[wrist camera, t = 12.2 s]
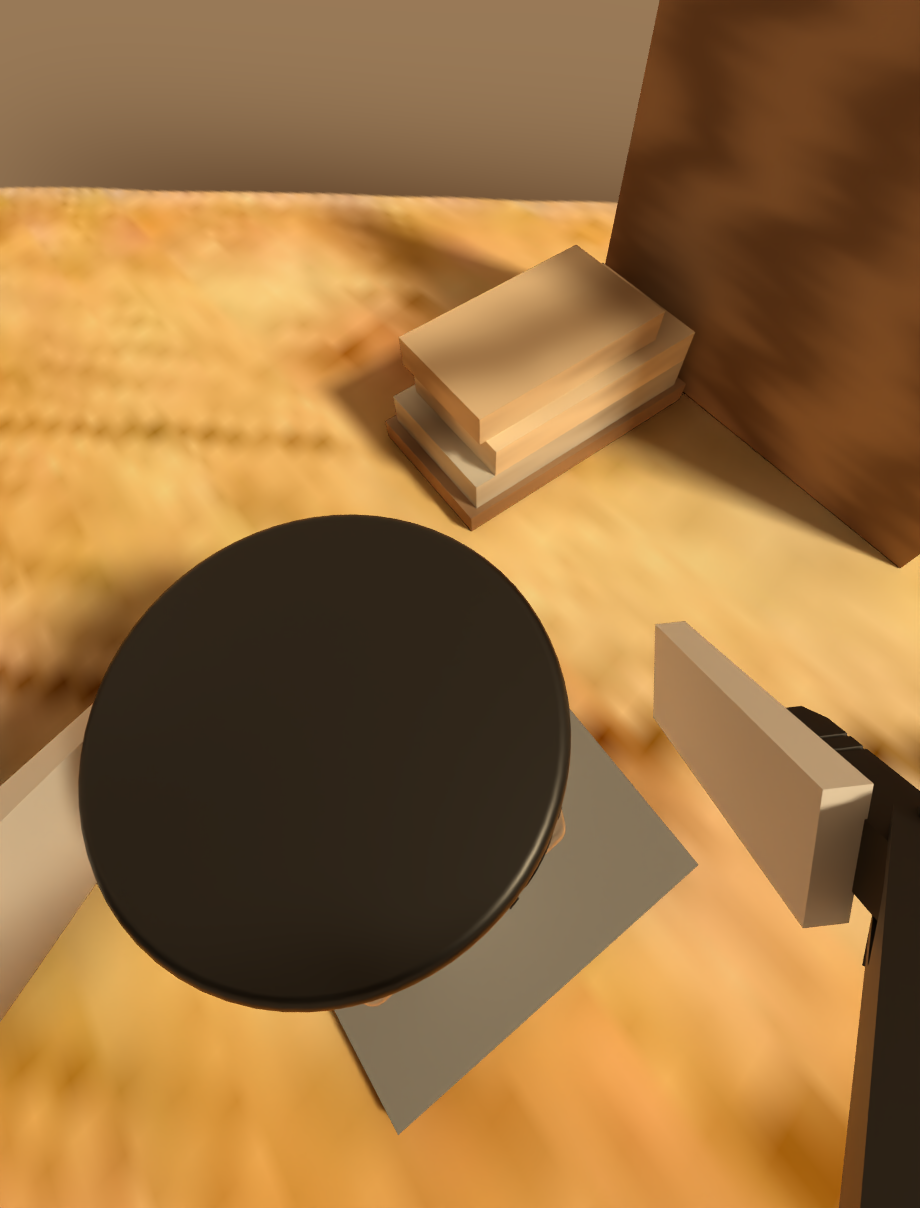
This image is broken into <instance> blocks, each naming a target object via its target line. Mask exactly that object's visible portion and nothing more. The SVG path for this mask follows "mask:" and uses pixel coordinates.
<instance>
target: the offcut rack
mask: <svg viewBox="0 0 920 1208" xmlns="http://www.w3.org/2000/svg"><path fill="white" fill-rule="evenodd" d="M399 342H400V348H401V355H402V362H403V365H404V366H405V367H406V368H407V369H408V370H409V371H410V372H411V373H412V375H413V376H414V381H415V385H413V386H411V387H409V388H408V389H406V390H404V391H402V392H400V393H399V394H397V395H395V396H393V399H394V404H395V410H396V415H395V416H394V417H392V418H390V419H388V420H386V421H385V422H386V427H387V432H388V436H389V437H390V438H391V439H392V440H393V441H394V443H395V444H396V445H397V446H398V447H399V448H400V449H401V451H402V452H403V453H404V454H405V455H406V456H407V457H408V459H409V460H410V461H411V462H412V463H413V464H414V466H415V467H416V468H417V469H418V470H419V471H420V472H421V474H422V475H423V476H424V477H425V478H426V479H427V480H428V482H429V483H430V484H431V485H432V486H433V487H434V488H435V490H436V491H437V492H438V493H439V494H440V495H441V496H442V498H443V499H444V500H445V501H446V502H447V503H448V505H449V506H450V507H451V508H452V509H453V510H454V511H455V513H456V514H457V515H458V516H459V517H460V518H461V519H462V521H463V522H464V523H465V524H466V525H467V526H468V527H469V529H470V530H471V531H473V530H474V529H476V528H478V527H479V526H481V525H482V524H484V523H485V522H487V521H489V520H490V519H492V518H493V517H495V516H496V515H498V514H500V513H501V512H503V511H504V510H506V509H507V508H509V507H511V506H512V505H514V504H515V503H517V502H518V501H520V500H522V499H523V498H525V497H526V496H528V495H529V494H531V493H533V492H534V491H536V490H537V489H539V488H540V487H542V486H544V485H545V484H547V483H548V482H550V481H551V480H553V479H555V478H556V477H558V476H559V475H561V474H562V473H564V472H566V471H567V470H569V469H570V468H572V467H573V466H575V465H577V464H578V463H580V462H581V461H583V460H584V459H586V458H588V457H589V456H591V455H592V454H594V453H595V452H597V451H599V450H600V449H602V448H603V447H605V446H606V445H608V444H610V443H611V442H613V441H614V440H616V439H617V438H619V437H621V436H622V435H624V434H625V433H627V432H629V431H630V430H632V429H633V428H635V427H636V426H638V425H640V424H641V423H643V422H644V421H646V420H647V419H649V418H651V417H652V416H654V415H655V414H657V413H658V412H660V411H662V410H663V409H665V408H666V407H668V406H669V405H671V404H673V403H674V402H676V401H677V400H679V399H680V397H681V394H682V392H684V393H685V394H687V395H688V396H689V397H690V398H691V399H693V400H694V401H695V402H696V403H698V404H699V405H700V406H701V407H703V408H704V409H705V410H706V411H707V412H709V413H710V414H711V415H712V416H714V417H715V418H716V419H717V420H719V421H720V422H721V423H722V424H723V425H725V426H726V427H727V428H728V429H730V430H731V431H732V432H733V433H735V434H736V435H737V436H738V437H739V438H741V439H742V440H743V441H744V442H746V443H747V444H748V445H749V446H751V447H752V448H753V449H754V450H755V451H757V452H758V453H759V454H760V455H762V456H763V457H764V458H765V459H767V460H768V461H769V462H770V463H771V464H773V465H774V466H775V467H776V468H778V469H779V470H780V471H781V472H783V473H784V474H785V475H786V476H787V477H789V478H790V479H791V480H792V481H794V482H795V483H796V484H797V485H798V486H800V487H801V488H802V489H803V490H805V491H806V492H807V493H808V494H810V495H811V496H812V497H813V498H814V499H816V500H817V501H818V502H819V503H821V504H822V505H823V506H824V507H826V508H827V509H828V510H829V511H830V512H832V513H833V514H834V515H835V516H837V517H838V518H839V519H840V520H842V521H843V522H844V523H845V524H846V525H848V526H849V527H850V528H851V529H853V530H854V531H855V532H856V533H858V534H859V535H860V536H861V537H862V538H864V539H865V540H866V541H867V542H869V543H870V544H871V545H872V546H874V547H875V548H876V549H877V550H878V551H880V552H881V553H882V554H883V555H885V556H886V557H887V558H888V559H890V560H891V561H892V562H893V563H894V564H896V565H897V566H898V567H899V568H901V567H903V566H904V565H905V564H907V563H908V562H910V561H911V560H912V559H914V558H915V557H917V556H918V555H919V554H920V0H660V1H659V6H658V11H657V16H656V21H655V26H654V30H653V35H652V40H651V45H650V50H649V55H648V59H647V64H646V70H645V74H644V79H643V84H642V89H641V93H640V98H639V103H638V108H637V113H636V118H635V123H634V128H633V132H632V137H631V143H630V147H629V152H628V156H627V161H626V167H625V171H624V176H623V181H622V186H621V191H620V195H619V200H618V205H617V210H616V215H615V219H614V224H613V229H612V234H611V239H610V244H609V249H608V253H607V258H606V263H605V264H604V263H602V264H601V263H600V262H599V261H597V260H596V259H595V258H593V257H592V256H591V255H589V254H588V253H587V252H585V251H584V250H583V249H581V248H580V247H579V246H577V245H575V246H573V247H571V248H569V249H567V250H565V251H563V252H561V253H559V254H557V255H555V256H553V257H552V258H550V259H548V260H546V261H544V262H542V263H540V264H538V265H536V266H534V267H532V268H530V269H529V270H527V271H525V272H523V273H521V274H519V275H517V276H515V277H513V278H511V279H509V280H507V281H506V282H504V283H502V284H500V285H498V286H496V287H494V288H492V289H490V290H488V291H486V292H484V293H483V294H481V295H479V296H477V297H475V298H473V299H471V300H469V301H467V302H465V303H463V304H462V305H460V306H458V307H456V308H454V309H452V310H450V311H448V312H446V313H444V314H442V315H440V316H439V317H437V318H435V319H433V320H431V321H429V322H427V323H425V324H423V325H421V326H419V327H417V328H416V329H414V330H412V331H410V332H408V333H406V334H404V335H402V336H400V337H399Z"/></svg>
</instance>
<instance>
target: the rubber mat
mask: <svg viewBox="0 0 920 1208" xmlns="http://www.w3.org/2000/svg"><path fill="white" fill-rule="evenodd" d="M569 710H570V709H569ZM570 721H571V756H570V766H569V774H568V780H567V786H566V791H565V795H564V799H563V803H562V812H563V816H564V821H565V827H566V831H565V835H564V837H563V839H562V840H561V841H560V842H559V843H558V844H557V845H556V846H555V847H553V848H552V849H551V850H550V851H549V852H548V853H547V854H546V855H545V856H544V858H543V860H542V862H541V864H540V866H539V868H538V870H537V871H536V873H535V875H534V876H533V878H532V879H531V881H530V882H529V884H528V885H527V886H526V887H525V888H524V889H523V890H522V892H521V893H520V895H519V896H518V898H519V900H518V901H517V902H516V904H515V905H514V906H513V907H512V909H510V908H509V909H508V910H507V911H506V913H505V914H504V915H503V916H502V918H501V919H500V920H499V921H498V922H497V923H496V924H495V925H494V926H493V927H492V928H491V929H490V930H489V931H488V932H487V933H486V934H485V935H484V936H483V937H482V938H481V939H480V940H479V941H478V942H477V943H475V944H474V945H473V946H472V947H471V948H470V949H469V950H467V951H466V952H465V953H463V954H462V955H461V956H460V957H458V958H457V959H456V960H454V961H453V962H452V963H450V964H449V965H447V966H446V967H444V968H442V969H441V970H439V971H438V972H436V973H435V974H433V975H431V976H430V977H428V978H426V979H424V980H422V981H420V982H419V983H417V984H415V985H413V986H411V987H408V988H406V989H404V990H402V991H399V992H397V993H395V994H393V995H392V996H391V997H390V998H388V999H387V1000H386V1001H385V1002H384V1003H383V1004H381V1005H379V1006H368V1005H365V1004H361V1005H357V1006H353V1007H348V1008H342V1009H336V1010H334V1011H335V1013H336V1015H337V1017H338V1019H339V1021H340V1023H341V1025H342V1027H343V1029H344V1030H345V1032H346V1034H347V1036H348V1038H349V1040H350V1042H351V1044H352V1046H353V1048H354V1050H355V1052H356V1054H357V1056H358V1058H359V1060H360V1062H361V1064H362V1066H363V1068H364V1069H365V1071H366V1073H367V1075H368V1077H369V1079H370V1081H371V1083H372V1085H373V1087H374V1089H375V1091H376V1093H377V1095H378V1097H379V1099H380V1101H381V1103H382V1105H383V1106H384V1108H385V1110H386V1112H387V1114H388V1116H389V1118H390V1120H391V1122H392V1124H393V1126H394V1128H395V1130H396V1132H397V1134H398V1135H399V1134H400V1133H401V1132H402V1131H403V1130H404V1129H406V1128H407V1127H408V1126H409V1125H410V1124H411V1123H412V1122H413V1121H414V1120H416V1119H417V1118H418V1117H419V1116H420V1115H421V1114H422V1113H423V1112H424V1111H426V1110H427V1109H428V1108H429V1107H430V1106H431V1105H432V1104H433V1103H434V1102H436V1101H437V1100H438V1099H439V1098H440V1097H441V1096H442V1095H443V1094H444V1093H446V1092H447V1091H448V1090H449V1089H450V1088H451V1087H452V1086H453V1085H454V1084H456V1083H457V1082H458V1081H459V1080H460V1079H461V1078H462V1077H463V1076H464V1075H466V1074H467V1073H468V1072H469V1071H470V1070H471V1069H472V1068H473V1067H474V1066H476V1065H477V1064H478V1063H479V1062H480V1061H481V1060H482V1059H483V1058H484V1057H486V1056H487V1055H488V1054H489V1053H490V1052H491V1051H492V1050H493V1049H494V1048H496V1047H497V1046H498V1045H499V1044H500V1043H501V1042H502V1041H503V1040H504V1039H506V1038H507V1037H508V1036H509V1035H510V1034H511V1033H512V1032H513V1031H514V1030H516V1029H517V1028H518V1027H519V1026H520V1025H521V1024H522V1023H523V1022H524V1021H526V1020H527V1019H528V1018H529V1017H530V1016H531V1015H532V1014H533V1013H534V1012H536V1011H537V1010H538V1009H539V1008H540V1007H541V1006H542V1005H543V1004H544V1003H546V1002H547V1001H548V1000H549V999H550V998H551V997H552V996H553V995H554V994H556V993H557V992H558V991H559V990H560V989H561V988H562V987H563V986H564V985H566V984H567V983H568V982H569V981H570V980H571V979H572V978H573V977H574V976H576V975H577V974H578V973H579V972H580V971H581V970H582V969H583V968H584V967H585V966H587V965H588V964H589V963H590V962H591V961H592V960H593V959H594V958H595V957H597V956H598V955H599V954H600V953H601V952H602V951H603V950H604V949H605V948H607V947H608V946H609V945H610V944H611V943H612V942H613V941H614V940H615V939H617V938H618V937H619V936H620V935H621V934H622V933H623V932H624V931H625V930H627V929H628V928H629V927H630V926H631V925H632V924H633V923H634V922H635V921H637V920H638V919H639V918H640V917H641V916H642V915H643V914H644V913H645V912H647V911H648V910H649V909H650V908H651V907H652V906H653V905H654V904H655V903H657V902H658V901H659V900H660V899H661V898H662V897H663V896H664V895H665V894H667V893H668V892H669V891H670V890H671V889H672V888H673V887H674V886H675V885H677V884H678V883H679V882H680V881H681V880H682V879H683V878H684V877H685V876H687V875H688V874H689V873H690V872H691V871H692V870H693V869H694V868H695V867H697V866H698V864H697V862H696V861H695V860H694V859H693V858H692V856H691V855H690V854H689V853H688V851H687V850H686V849H685V848H684V847H683V845H682V844H681V843H680V842H679V841H678V839H677V838H676V837H675V836H674V835H673V833H672V832H671V831H670V830H669V828H668V827H667V826H666V825H665V824H664V822H663V821H662V820H661V819H660V818H659V816H658V815H657V814H656V813H655V812H654V810H653V809H652V808H651V807H650V805H649V804H648V803H647V802H646V801H645V799H644V798H643V797H642V796H641V795H640V793H639V792H638V791H637V790H636V789H635V787H634V786H633V785H632V784H631V782H630V781H629V780H628V779H627V778H626V776H625V775H624V774H623V773H622V772H621V770H620V769H619V768H618V767H617V766H616V764H615V763H614V762H613V761H612V759H611V758H610V757H609V756H608V755H607V753H606V752H605V751H604V750H603V749H602V747H601V746H600V745H599V744H598V743H597V741H596V740H595V739H594V738H593V736H592V735H591V734H590V733H589V732H588V730H587V729H586V728H585V727H584V726H583V724H582V723H581V722H580V721H579V720H578V718H577V717H576V716H575V715H574V713H573V712H572V711H571V710H570Z"/></svg>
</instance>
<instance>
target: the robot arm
mask: <svg viewBox="0 0 920 1208" xmlns="http://www.w3.org/2000/svg"><path fill="white" fill-rule="evenodd" d="M92 705H93V704H92ZM92 705H90V706H89V707H88V708H87V709H86V710H85V711H84V712H83V713H82V714H80V715H79V716H78V717H77V718H76V719H75V720H74V721H73V722H71V723H70V724H69V725H68V726H67V727H66V728H65V729H64V730H63V731H61V732H60V733H59V734H58V735H57V736H56V737H55V738H54V739H52V740H51V741H50V742H49V743H48V744H47V745H46V746H45V747H44V748H42V749H41V750H40V751H39V752H38V753H37V754H36V755H35V756H33V757H32V758H31V759H30V760H29V761H28V762H27V763H26V764H25V765H23V766H22V767H21V768H20V769H19V770H18V771H17V772H16V773H14V774H13V775H12V776H11V777H10V778H9V779H8V780H7V781H6V782H4V783H3V784H2V785H1V786H0V1021H1V1020H2V1019H3V1017H4V1016H5V1014H6V1013H7V1011H8V1010H9V1008H10V1007H11V1006H12V1004H13V1003H14V1001H15V1000H16V998H17V997H18V995H19V994H20V993H21V991H22V990H23V988H24V987H25V985H26V984H27V982H28V981H29V980H30V978H31V977H32V975H33V974H34V972H35V971H36V970H37V968H38V967H39V965H40V964H41V962H42V961H43V959H44V958H45V957H46V955H47V954H48V952H49V951H50V949H51V948H52V946H53V945H54V944H55V942H56V941H57V939H58V938H59V936H60V935H61V933H62V932H63V931H64V929H65V928H66V926H67V925H68V923H69V922H70V920H71V919H72V918H73V916H74V915H75V913H76V912H77V910H78V909H79V907H80V906H81V905H82V903H83V902H84V900H85V899H86V897H87V896H88V894H89V893H90V892H91V890H92V889H93V887H94V886H95V884H96V883H97V882H96V880H95V877H94V874H93V871H92V868H91V865H90V862H89V860H88V857H87V853H86V848H85V844H84V840H83V835H82V831H81V822H80V814H79V798H78V778H79V767H80V755H81V750H82V744H83V739H84V733H85V729H86V725H87V722H88V718H89V714H90V711H91V707H92ZM653 718H654V719H655V720H656V722H657V723H658V725H659V726H660V727H661V729H662V730H663V732H664V733H665V734H666V736H667V737H668V739H669V740H670V741H671V743H672V744H673V746H674V747H675V749H676V750H677V751H678V753H679V754H680V756H681V757H682V758H683V760H684V761H685V763H686V764H687V765H688V767H689V768H690V770H691V771H692V773H693V774H694V775H695V777H696V778H697V780H698V781H699V782H700V784H701V785H702V787H703V788H704V789H705V791H706V792H707V794H708V795H709V796H710V798H711V799H712V801H713V802H714V804H715V805H716V806H717V808H718V809H719V811H720V812H721V813H722V815H723V816H724V818H725V819H726V820H727V822H728V823H729V825H730V826H731V828H732V829H733V830H734V832H735V833H736V835H737V836H738V837H739V839H740V840H741V842H742V843H743V844H744V846H745V847H746V849H747V850H748V851H749V853H750V854H751V856H752V857H753V859H754V860H755V861H756V863H757V864H758V866H759V867H760V868H761V870H762V871H763V873H764V874H765V875H766V877H767V878H768V880H769V881H770V883H771V884H772V885H773V887H774V888H775V890H776V891H777V892H778V894H779V895H780V897H781V898H782V899H783V901H784V902H785V904H786V905H787V907H788V908H789V909H790V911H791V912H792V914H793V915H794V916H795V918H796V919H797V921H798V922H799V923H800V925H801V926H802V928H809V927H817V926H826V925H834V924H842V923H849V918H850V913H851V907H852V902H853V896H854V894H855V896H856V897H857V898H858V899H859V900H860V901H861V903H862V904H863V905H864V906H865V907H866V908H867V910H868V911H869V912H870V913H871V914H872V918H871V923H870V928H869V934H868V939H867V944H866V949H865V954H864V959H863V964H862V965H863V966H865V973H864V982H863V991H862V1000H861V1010H860V1019H859V1028H858V1037H857V1046H856V1056H855V1065H854V1074H853V1083H852V1093H851V1102H850V1111H849V1120H848V1129H847V1139H846V1148H845V1157H844V1166H843V1175H842V1185H841V1194H840V1203H839V1208H920V791H919V790H918V789H917V788H915V787H914V786H913V785H911V784H910V783H909V782H908V781H906V780H905V779H904V778H903V777H901V776H900V775H899V774H898V773H896V772H895V771H894V770H893V769H891V768H890V767H889V766H888V765H886V764H885V763H884V762H883V761H881V760H880V759H879V758H877V757H876V756H875V755H874V754H872V753H871V752H870V751H869V750H867V749H863V746H862V745H861V744H860V743H859V742H857V741H856V740H855V739H854V738H852V737H851V736H847V733H846V732H845V731H843V730H842V729H841V728H840V727H838V726H837V725H836V724H835V723H833V722H832V721H831V720H830V719H828V718H827V717H824V716H822V715H820V714H818V713H816V712H813V711H811V710H809V709H807V708H805V707H803V706H797V707H789V708H785V707H784V706H783V705H782V704H780V703H779V702H778V701H777V700H776V699H775V698H773V697H772V696H771V695H770V694H769V693H768V692H766V691H765V690H764V689H763V688H762V687H761V686H759V685H758V684H757V683H756V682H755V681H754V680H752V679H751V678H750V677H749V676H748V675H747V674H746V673H744V672H743V671H742V670H741V669H740V668H739V667H737V666H736V665H735V664H734V663H733V662H732V661H730V660H729V659H728V658H727V657H726V656H725V655H723V654H722V653H721V652H720V651H719V650H718V649H716V648H715V647H714V646H713V645H712V644H711V643H709V642H708V641H707V640H706V639H705V638H704V637H702V636H701V635H700V634H699V633H698V632H697V631H696V630H694V629H693V628H692V627H691V626H690V625H689V624H687V623H686V622H685V621H682V622H672V623H663V624H655V663H654V710H653Z"/></svg>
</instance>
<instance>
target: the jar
mask: <svg viewBox="0 0 920 1208" xmlns="http://www.w3.org/2000/svg"><path fill="white" fill-rule="evenodd" d="M570 756H571V721H570V710H569V702H568V696H567V691H566V686H565V681H564V678H563V674H562V671H561V667H560V664H559V661H558V658H557V655H556V653H555V650H554V648H553V645H552V643H551V640H550V638H549V636H548V634H547V632H546V631H545V629H544V627H543V625H542V623H541V621H540V619H539V618H538V616H537V615H536V613H535V612H534V610H533V609H532V607H531V606H530V604H529V603H528V601H527V600H526V599H525V598H524V596H523V595H522V594H521V593H520V591H519V590H518V589H517V588H516V586H515V585H514V584H513V583H512V582H511V581H510V580H509V579H508V578H507V577H506V576H505V575H504V574H503V573H502V572H501V571H500V570H498V569H497V568H496V567H495V566H494V565H492V564H491V563H490V562H489V561H488V560H486V559H485V558H484V557H482V556H481V555H479V554H478V553H476V552H475V551H474V550H472V549H471V548H469V547H467V546H466V545H464V544H462V543H460V542H458V541H457V540H455V539H453V538H451V537H449V536H447V535H444V534H442V533H440V532H437V531H435V530H433V529H430V528H427V527H424V526H421V525H418V524H415V523H411V522H407V521H402V520H398V519H393V518H386V517H380V516H369V515H330V516H321V517H313V518H307V519H302V520H296V521H292V522H288V523H285V524H281V525H277V526H274V527H271V528H268V529H265V530H263V531H260V532H257V533H254V534H252V535H250V536H248V537H245V538H243V539H241V540H239V541H236V542H235V543H233V544H231V545H229V546H227V547H225V548H223V549H222V550H220V551H218V552H216V553H215V554H213V555H212V556H210V557H208V558H207V559H205V560H204V561H202V562H201V563H199V564H198V565H196V566H195V567H194V568H193V569H191V570H190V571H189V572H187V573H186V574H185V575H183V576H182V577H181V578H180V579H179V580H177V581H176V582H175V583H174V584H173V585H172V586H171V587H169V588H168V589H167V590H166V591H165V592H164V593H163V594H162V595H161V596H160V597H159V598H158V599H157V600H156V601H155V602H154V603H153V604H152V605H151V607H150V608H149V609H148V610H147V611H146V612H145V614H144V615H143V616H142V617H141V618H140V620H139V621H138V622H137V623H136V624H135V626H134V627H133V629H132V630H131V632H130V633H129V634H128V636H127V637H126V639H125V640H124V642H123V643H122V644H121V646H120V648H119V650H118V651H117V653H116V655H115V656H114V658H113V660H112V662H111V663H110V665H109V667H108V669H107V671H106V674H105V676H104V678H103V680H102V682H101V684H100V686H99V689H98V692H97V694H96V697H95V700H94V702H93V705H92V707H91V711H90V714H89V718H88V722H87V725H86V729H85V733H84V739H83V744H82V750H81V755H80V767H79V778H78V798H79V814H80V822H81V831H82V835H83V840H84V844H85V848H86V853H87V857H88V860H89V862H90V865H91V868H92V871H93V874H94V877H95V880H96V882H97V884H98V886H99V888H100V890H101V892H102V894H103V896H104V898H105V900H106V902H107V904H108V906H109V907H110V909H111V910H112V912H113V913H114V915H115V917H116V918H117V920H118V921H119V923H120V924H121V926H122V927H123V928H124V929H125V930H126V932H127V933H128V934H129V935H130V936H131V938H132V939H133V940H134V941H135V943H136V944H137V945H138V946H139V947H140V948H141V949H142V950H144V951H145V952H146V953H147V954H148V955H149V956H150V957H151V958H152V959H153V960H154V961H155V962H156V963H158V964H159V965H160V966H162V967H163V968H165V969H166V970H167V971H169V972H170V973H171V974H173V975H174V976H176V977H177V978H178V979H180V980H182V981H184V982H186V983H187V984H189V985H191V986H193V987H195V988H197V989H198V990H200V991H202V992H205V993H207V994H210V995H212V996H215V997H217V998H220V999H223V1000H225V1001H228V1002H232V1003H236V1004H240V1005H244V1006H247V1007H251V1008H256V1009H263V1010H271V1011H280V1012H317V1011H329V1010H336V1009H342V1008H348V1007H353V1006H357V1005H361V1004H365V1005H368V1006H379V1005H381V1004H383V1003H384V1002H385V1001H386V1000H387V999H388V998H390V997H391V996H392V995H393V994H395V993H397V992H399V991H402V990H404V989H406V988H408V987H411V986H413V985H415V984H417V983H419V982H420V981H422V980H424V979H426V978H428V977H430V976H431V975H433V974H435V973H436V972H438V971H439V970H441V969H442V968H444V967H446V966H447V965H449V964H450V963H452V962H453V961H454V960H456V959H457V958H458V957H460V956H461V955H462V954H463V953H465V952H466V951H467V950H469V949H470V948H471V947H472V946H473V945H474V944H475V943H477V942H478V941H479V940H480V939H481V938H482V937H483V936H484V935H485V934H486V933H487V932H488V931H489V930H490V929H491V928H492V927H493V926H494V925H495V924H496V923H497V922H498V921H499V920H500V919H501V918H502V916H503V915H504V914H505V913H506V911H507V910H508V909H509V908H510V909H512V907H513V906H514V905H515V904H516V902H517V901H518V900H519V898H518V896H519V895H520V893H521V892H522V890H523V889H524V888H525V887H526V886H527V885H528V884H529V882H530V881H531V879H532V878H533V876H534V875H535V873H536V871H537V870H538V868H539V866H540V864H541V862H542V860H543V858H544V856H545V855H546V854H547V853H548V852H549V851H550V850H551V849H552V848H553V847H555V846H556V845H557V844H558V843H559V842H560V841H561V840H562V839H563V837H564V835H565V831H566V827H565V821H564V816H563V812H562V803H563V799H564V795H565V791H566V786H567V780H568V774H569V766H570Z"/></svg>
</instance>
